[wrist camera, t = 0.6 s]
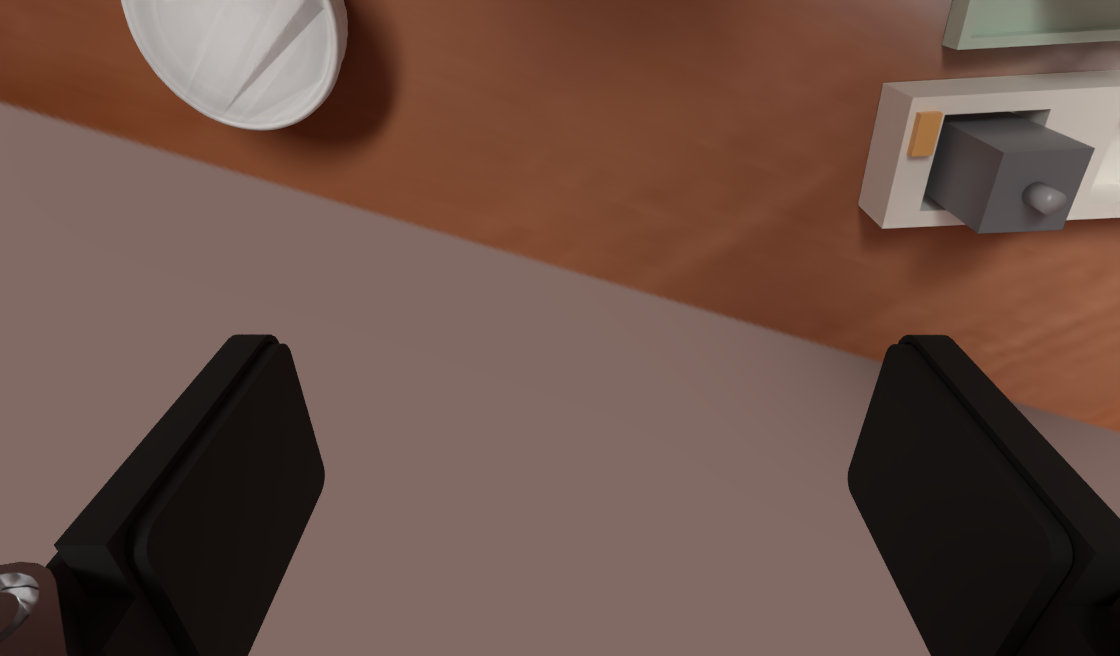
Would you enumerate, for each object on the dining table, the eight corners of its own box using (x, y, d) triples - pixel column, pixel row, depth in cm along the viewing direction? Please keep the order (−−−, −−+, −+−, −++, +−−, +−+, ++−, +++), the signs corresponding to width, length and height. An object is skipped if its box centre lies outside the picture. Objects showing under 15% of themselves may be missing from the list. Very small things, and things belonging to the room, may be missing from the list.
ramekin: (356, 129, 41) (330, 153, 37) (178, 82, 40) (129, 102, 35) (374, -67, 35) (346, -65, 31) (165, -130, 34) (104, -138, 29)
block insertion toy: (883, 82, 39) (976, 129, 30) (1220, 63, 38) (1418, 106, 29) (857, 205, 43) (932, 277, 34) (1160, 190, 42) (1317, 261, 34)
